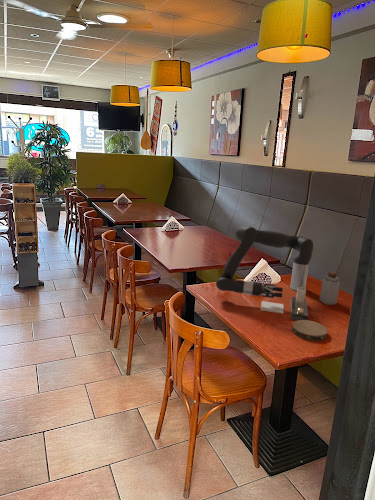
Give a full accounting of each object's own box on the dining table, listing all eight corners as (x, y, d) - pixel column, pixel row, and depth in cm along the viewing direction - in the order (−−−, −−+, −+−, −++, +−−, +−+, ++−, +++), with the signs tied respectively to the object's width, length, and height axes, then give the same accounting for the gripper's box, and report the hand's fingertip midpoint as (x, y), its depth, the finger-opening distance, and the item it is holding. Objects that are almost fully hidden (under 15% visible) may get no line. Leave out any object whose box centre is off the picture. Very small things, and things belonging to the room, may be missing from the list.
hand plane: (290, 302, 213) (292, 292, 211) (305, 304, 211) (306, 294, 209) (291, 319, 190) (292, 308, 188) (307, 322, 188) (308, 311, 187)
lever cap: (295, 303, 202) (297, 286, 200) (303, 304, 201) (305, 287, 199) (295, 306, 198) (298, 289, 195) (303, 307, 197) (306, 290, 194)
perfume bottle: (326, 304, 212) (331, 275, 208) (319, 300, 218) (324, 271, 214) (336, 304, 214) (341, 274, 209) (329, 299, 220) (334, 270, 216)
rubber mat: (261, 301, 211) (261, 301, 210) (283, 305, 208) (283, 304, 208) (260, 310, 199) (260, 309, 199) (283, 313, 197) (283, 312, 196)
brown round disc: (319, 326, 185) (319, 320, 184) (331, 342, 170) (333, 336, 169) (287, 324, 185) (288, 319, 184) (297, 340, 169) (298, 334, 168)
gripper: (251, 286, 196) (283, 290, 193) (254, 278, 210) (283, 281, 206) (250, 299, 198) (281, 304, 195) (252, 290, 212) (281, 294, 208)
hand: (282, 292), depth 200 cm, fingers open, 8 cm apart
